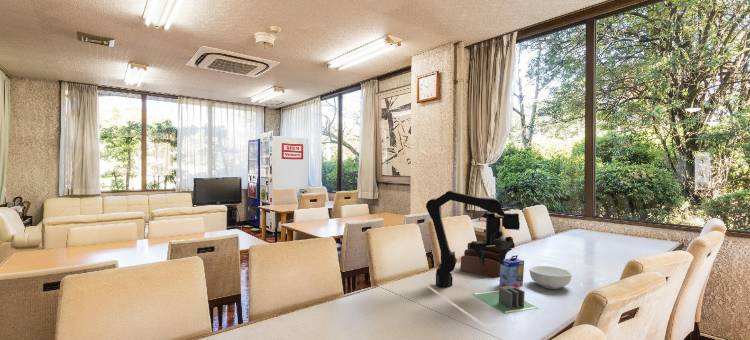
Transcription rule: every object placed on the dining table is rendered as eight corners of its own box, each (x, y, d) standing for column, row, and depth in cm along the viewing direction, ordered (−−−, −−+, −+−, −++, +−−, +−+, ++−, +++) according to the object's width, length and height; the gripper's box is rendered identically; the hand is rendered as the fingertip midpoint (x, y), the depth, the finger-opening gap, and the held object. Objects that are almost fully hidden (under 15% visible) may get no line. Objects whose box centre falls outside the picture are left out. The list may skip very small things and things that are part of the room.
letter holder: (467, 266, 187) (468, 240, 187) (505, 274, 175) (506, 246, 175) (460, 271, 179) (460, 243, 179) (499, 279, 167) (500, 249, 167)
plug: (510, 309, 130) (510, 293, 129) (498, 302, 136) (499, 287, 136) (524, 307, 132) (524, 291, 132) (512, 300, 138) (512, 285, 138)
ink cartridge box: (508, 290, 151) (509, 257, 151) (498, 286, 156) (499, 254, 156) (524, 287, 156) (524, 255, 156) (513, 283, 161) (514, 252, 161)
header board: (504, 315, 126) (504, 306, 126) (471, 295, 144) (471, 287, 144) (539, 310, 131) (539, 301, 131) (502, 291, 150) (503, 284, 150)
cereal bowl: (561, 281, 166) (561, 266, 166) (578, 293, 149) (578, 277, 149) (524, 279, 168) (524, 264, 168) (536, 291, 151) (537, 275, 151)
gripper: (486, 232, 137) (485, 272, 137) (524, 230, 143) (523, 268, 143) (469, 227, 147) (469, 264, 147) (505, 226, 153) (505, 261, 154)
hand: (492, 265), depth 148 cm, fingers open, 9 cm apart
